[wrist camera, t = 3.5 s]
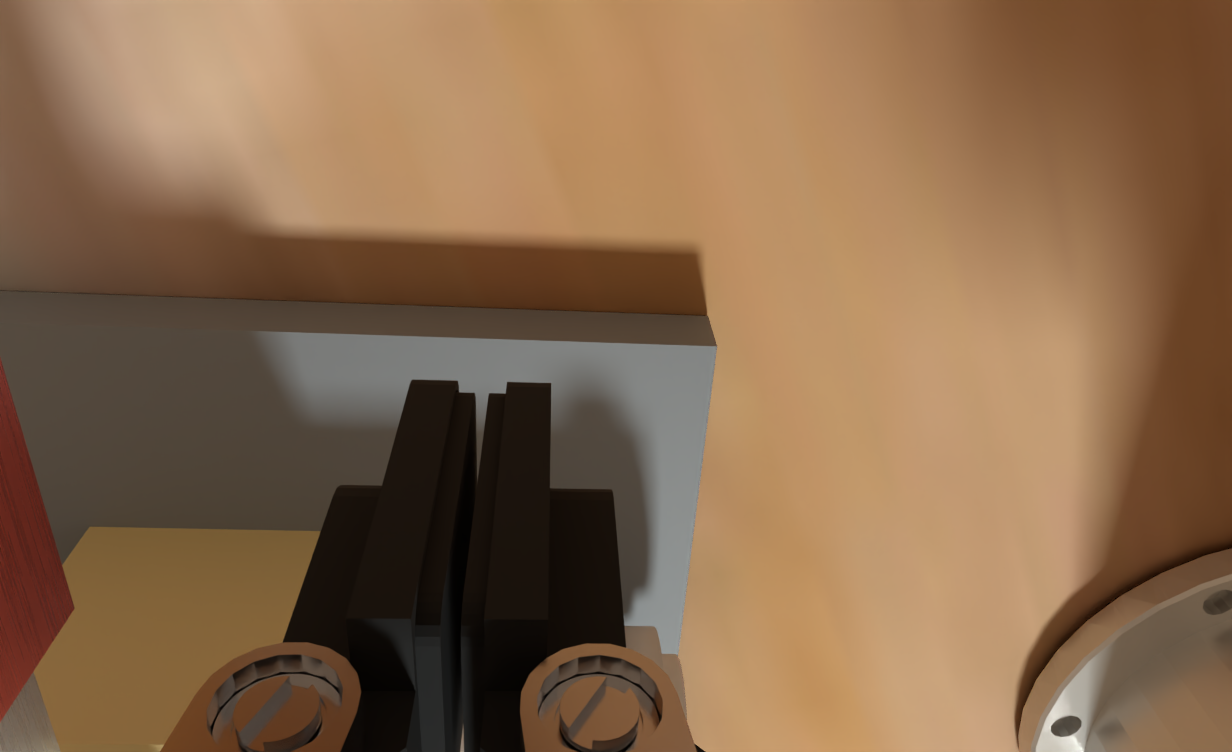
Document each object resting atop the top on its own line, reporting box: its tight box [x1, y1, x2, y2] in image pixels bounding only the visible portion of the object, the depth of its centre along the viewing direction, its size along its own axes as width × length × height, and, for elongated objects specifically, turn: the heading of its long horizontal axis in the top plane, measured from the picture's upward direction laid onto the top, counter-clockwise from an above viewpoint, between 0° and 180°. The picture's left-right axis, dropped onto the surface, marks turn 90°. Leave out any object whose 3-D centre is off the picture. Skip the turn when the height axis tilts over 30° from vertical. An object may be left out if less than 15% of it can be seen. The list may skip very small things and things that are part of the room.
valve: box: [0, 291, 717, 752], centre depth 20 cm, size 22×16×9 cm
